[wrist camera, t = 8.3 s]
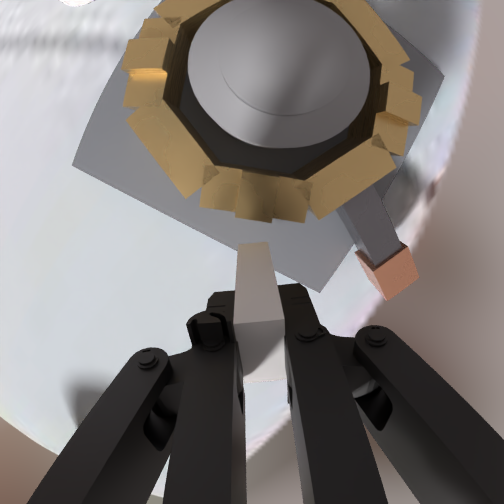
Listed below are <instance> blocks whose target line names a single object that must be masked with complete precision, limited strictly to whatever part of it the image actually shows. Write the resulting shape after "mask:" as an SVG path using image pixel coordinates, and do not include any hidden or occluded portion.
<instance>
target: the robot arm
mask: <svg viewBox="0 0 504 504" xmlns="http://www.w3.org/2000/svg"><path fill="white" fill-rule="evenodd" d="M186 326H187V329H188V333H189V336H190V339H191V343H192V348H191V349H190V350H188V351H186V352H183V353H180V354H176V355H172V356H168V355H167V353H166V352H165V351H164V350H162V349H159V348H151V347H150V348H146V349H142V350H140V351H138V352H136V353H135V354H134V355H133V356H132V357H131V358H130V359H129V360H128V362H127V363H126V364H125V366H124V367H123V368H122V370H121V371H120V372H119V373H118V375H117V376H116V377H115V379H114V380H113V381H112V383H111V384H110V385H109V387H108V388H107V389H106V391H105V392H104V393H103V395H102V396H101V397H100V399H99V400H98V401H97V403H96V404H95V406H94V407H93V408H92V410H91V411H90V412H89V414H88V415H87V416H86V418H85V419H84V421H83V422H82V423H81V425H80V426H79V428H78V429H77V430H76V432H75V433H74V435H73V436H72V437H71V439H70V440H69V442H68V443H67V444H66V446H65V447H64V449H63V450H62V452H61V453H60V454H59V456H58V457H57V459H56V460H55V462H54V463H53V465H52V466H51V468H50V469H49V471H48V472H47V474H46V475H45V477H44V478H43V480H42V481H41V483H40V484H39V486H38V487H37V489H36V490H35V492H34V493H33V495H32V496H31V498H30V499H29V501H28V503H27V504H146V503H147V500H148V498H149V496H150V495H151V492H152V490H153V488H154V486H155V484H156V482H157V480H158V478H159V476H160V474H161V472H162V470H163V468H164V466H165V464H166V462H167V459H168V457H169V455H170V459H169V465H168V471H167V478H166V484H165V491H164V497H163V504H247V493H246V438H245V393H244V388H243V380H244V383H255V382H266V381H276V380H285V379H287V388H288V403H289V404H290V411H291V417H292V424H293V431H294V438H295V445H296V452H297V459H298V465H299V474H300V481H301V489H302V495H303V503H304V504H388V501H387V498H386V495H385V491H384V488H383V484H382V481H381V478H380V475H379V471H378V468H377V465H376V461H375V458H374V455H373V452H372V449H371V446H370V443H369V440H368V437H367V434H366V431H365V428H364V425H365V426H366V428H367V429H368V431H369V432H370V433H371V435H372V436H373V438H374V439H375V441H376V442H377V444H378V445H379V446H380V448H381V449H382V451H383V452H384V453H385V455H386V456H387V458H388V459H389V461H390V462H391V463H392V465H393V466H394V468H395V469H396V470H397V472H398V473H399V475H400V476H401V477H402V479H403V480H404V482H405V483H406V484H407V486H408V487H409V489H410V490H411V491H412V493H413V494H414V496H415V497H416V498H417V500H418V501H419V503H420V504H504V440H503V439H502V437H501V436H500V435H499V434H498V433H497V432H496V431H495V430H494V429H493V428H492V427H491V426H490V425H489V424H488V423H487V422H486V421H485V420H484V419H483V418H482V417H481V416H480V415H479V414H478V413H477V412H476V411H475V410H474V409H473V408H472V407H471V406H470V405H469V404H468V402H466V401H465V400H464V399H463V398H462V397H461V396H460V395H459V394H458V393H457V392H456V391H455V390H454V389H453V388H452V387H451V386H450V385H449V384H448V383H447V382H446V381H445V380H444V379H443V378H442V377H441V376H440V375H439V374H438V373H437V372H436V371H434V369H433V368H431V367H430V366H429V365H428V364H427V363H426V362H425V361H424V360H423V359H422V358H421V357H420V356H419V355H418V354H417V353H415V352H414V351H413V350H412V349H411V348H410V347H409V346H408V345H407V344H406V343H405V342H404V341H402V340H401V339H400V338H399V337H398V336H397V335H396V334H395V333H394V332H393V331H391V330H390V329H388V328H386V327H383V326H377V325H371V326H366V327H363V328H362V329H360V330H359V331H358V332H357V334H356V335H355V338H353V337H340V336H335V335H332V334H330V333H329V331H328V330H327V329H326V327H324V326H322V325H321V324H320V322H319V320H318V317H317V315H316V312H315V309H314V307H313V304H312V302H311V299H310V297H309V294H308V291H307V289H306V288H305V287H304V286H302V285H301V284H300V283H295V284H286V285H277V281H276V277H275V272H274V268H273V263H272V258H271V254H270V249H269V245H268V242H259V243H249V244H239V245H238V255H237V270H236V286H235V290H234V291H223V292H214V293H213V295H212V296H211V297H210V298H209V299H208V303H207V308H206V311H202V312H200V313H197V314H195V315H194V316H192V317H191V318H190V319H189V320H188V322H187V323H186ZM363 423H364V425H363ZM170 453H171V454H170Z"/></svg>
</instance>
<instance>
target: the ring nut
mask: <svg viewBox="0 0 504 504" xmlns="http://www.w3.org/2000/svg"><path fill="white" fill-rule="evenodd" d="M231 1H233V0H165V1H164V2H162V3H161V4H159V5H158V6H156V7H155V8H153V9H154V10H155V12H156V13H157V14H158V16H159V17H160V18H150V19H144V23H143V26H142V29H141V32H140V35H139V38H138V39H131V40H129V41H128V44H127V48H126V52H125V55H124V59H123V63H122V67H121V70H123V71H124V72H126V73H128V74H129V77H128V81H127V86H126V91H125V96H124V101H123V107H126V108H129V109H132V110H136V111H135V112H134V113H133V114H131V115H130V116H129V117H128V118H127V119H126V122H127V123H128V124H129V126H130V127H131V128H132V130H133V131H134V132H135V134H136V135H137V136H138V138H139V139H140V140H141V142H142V143H143V144H144V146H145V147H146V148H147V149H148V151H149V152H150V153H151V155H152V156H153V157H154V159H155V160H156V161H157V163H158V164H159V165H160V167H161V168H162V169H163V170H164V172H165V173H166V174H167V176H168V177H169V178H170V180H171V181H172V182H173V183H174V185H175V186H176V187H177V189H178V190H179V191H180V193H181V194H182V195H183V196H184V198H185V199H187V198H188V197H189V196H190V195H192V194H193V193H194V192H196V191H197V190H198V189H199V188H201V187H202V189H201V197H200V205H199V207H203V208H210V209H217V210H224V211H230V212H235V218H242V219H248V220H254V221H261V222H267V223H272V219H273V218H275V219H281V220H287V221H293V222H298V223H305V219H306V214H307V210H309V211H310V212H311V213H312V214H313V215H314V216H315V217H316V218H317V219H318V220H320V219H322V218H323V217H325V216H326V215H328V214H329V213H331V212H332V211H334V210H336V211H337V213H338V215H339V217H340V218H341V220H342V222H343V224H344V225H345V227H346V229H347V231H348V232H349V234H350V236H351V238H352V240H353V241H354V243H355V245H356V247H357V249H358V250H357V251H356V252H355V254H356V256H357V258H358V260H359V262H360V264H361V266H362V267H363V269H364V271H365V273H366V275H367V277H368V279H369V280H370V282H371V283H372V284H373V285H374V286H375V287H376V289H377V290H378V291H379V292H380V293H381V295H382V296H383V297H384V298H385V299H386V301H388V300H389V299H391V298H392V297H393V296H395V295H396V294H398V293H399V292H401V291H402V290H403V289H405V288H406V287H407V286H409V285H410V284H411V283H413V282H414V281H415V280H416V279H418V278H419V275H418V273H417V270H416V267H415V264H414V262H413V259H412V256H411V253H410V251H409V248H408V246H406V245H405V244H404V243H402V242H401V241H399V239H398V236H397V234H396V232H395V230H394V227H393V225H392V223H391V221H390V218H389V216H388V214H387V212H386V210H385V208H384V206H383V204H382V201H381V199H380V197H379V195H378V193H377V191H376V189H375V188H374V186H373V183H375V182H376V181H378V180H379V179H381V178H382V177H384V176H385V175H386V174H388V173H389V172H391V171H392V170H394V169H395V168H397V167H396V165H395V163H394V161H393V159H392V157H391V155H394V156H403V155H404V150H405V144H406V138H407V132H408V126H419V121H420V113H421V104H422V97H421V96H419V95H418V94H416V93H414V92H412V91H413V79H414V72H413V71H411V70H409V69H407V68H405V67H402V66H400V65H401V64H403V63H405V62H407V61H409V60H410V59H409V57H408V56H407V54H406V53H405V51H404V50H403V48H402V47H401V45H400V44H399V42H398V41H397V40H396V38H395V37H394V35H393V34H392V33H391V31H390V30H389V29H388V27H387V26H386V25H385V24H384V22H383V21H382V20H381V18H380V17H379V16H378V15H377V14H376V12H375V11H374V10H373V9H372V8H371V7H370V5H369V4H368V3H367V2H366V1H365V0H314V1H316V2H318V3H320V4H323V5H324V6H326V7H328V8H329V9H331V10H332V11H334V12H335V13H336V14H338V15H339V16H340V17H341V18H342V19H343V20H344V21H346V22H347V23H348V25H349V26H350V27H351V28H352V29H353V31H354V32H355V33H356V35H357V36H358V38H359V39H360V41H361V43H362V45H363V47H364V50H365V52H366V55H367V58H368V62H369V69H370V85H369V91H368V95H367V98H366V101H365V103H364V105H363V107H362V109H361V111H360V112H359V114H358V115H357V117H356V118H355V119H354V120H353V121H352V122H351V124H350V125H349V130H348V136H347V139H345V140H343V141H342V142H340V143H339V144H337V145H336V146H334V147H332V148H331V149H329V150H328V151H326V152H325V153H323V154H322V155H320V156H318V157H317V158H315V159H314V160H312V161H311V162H309V163H308V164H306V165H305V166H303V167H302V168H300V169H299V170H297V171H296V172H294V173H293V174H288V173H283V172H278V171H272V170H267V169H261V168H255V167H249V166H243V165H236V164H229V163H222V162H220V161H219V159H218V158H217V157H216V155H215V154H214V153H213V151H212V150H211V149H210V147H209V146H208V145H207V144H206V142H205V141H204V140H203V138H202V137H201V136H200V134H199V133H198V132H197V131H196V129H195V128H194V127H193V125H192V124H191V123H190V122H189V120H188V119H187V118H186V116H185V115H184V114H183V113H182V111H181V110H180V109H179V107H180V102H181V97H182V91H183V87H184V82H185V77H186V72H187V68H188V57H189V51H190V47H191V43H192V41H193V39H194V36H195V34H196V32H197V31H198V29H199V28H200V26H201V25H202V24H203V22H204V21H205V20H206V19H207V18H208V17H209V16H210V15H211V14H212V13H213V12H215V11H216V10H217V9H219V8H220V7H222V6H223V5H225V4H227V3H229V2H231Z"/></svg>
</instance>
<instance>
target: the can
mask: <svg viewBox="0 0 504 504" xmlns="http://www.w3.org/2000/svg"><path fill="white" fill-rule="evenodd" d="M60 1H61V2H63V3H65V4H66V5H68V6H72V7H76V6H81V5H85V4H88V3H91V2H93V1H95V0H60Z"/></svg>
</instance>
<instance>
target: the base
mask: <svg viewBox="0 0 504 504" xmlns="http://www.w3.org/2000/svg"><path fill="white" fill-rule="evenodd" d="M164 1H165V0H162V1H161V2H160V3H159V4H161V3H162V2H164ZM150 18H160V17H159V16H158V14H157V13H156V12H155V10H154V11H153V12H152V13H151V15H150V16H149V17H148V19H150ZM384 24H385V23H384ZM385 25H386V26H387V27H388V29H389V30H390V31H391V33H392V34H393V35H394V37H395V38H396V40H397V41H398V42H399V44H400V45H401V47H402V48H403V50H404V51H405V53H406V54H407V56H408V57H409V59H410V60H409V61H407V62H405V63H403V64H401V65H400V66H402V67H405V68H407V69H409V70H411V71H413V72H414V79H413V91H412V92H414V93H416V94H418V95H419V96H421V97H422V104H421V113H420V121H419V126H408V132H407V138H406V144H405V150H404V155H403V156H394V155H391V157H392V159H393V161H394V163H395V165H396V167H397V168H395V169H394V170H392V171H391V172H389V173H388V174H386V175H385V176H384V177H382V178H381V179H379V180H378V181H376V182H375V183H373V186H374V188H375V189H376V191H377V193H378V195H379V197H380V199H381V200H382V198H383V196H384V195H385V193H386V191H387V190H388V188H389V186H390V184H391V183H392V181H393V179H394V177H395V176H396V174H397V172H398V170H399V169H400V167H401V165H402V163H403V161H404V159H405V158H406V156H407V154H408V152H409V150H410V148H411V146H412V144H413V142H414V141H415V139H416V137H417V135H418V133H419V131H420V129H421V127H422V125H423V123H424V121H425V119H426V117H427V114H428V112H429V110H430V108H431V106H432V104H433V102H434V99H435V97H436V95H437V93H438V91H439V88H440V86H441V84H442V81H443V79H444V77H445V76H444V75H443V74H442V73H441V72H440V71H439V70H438V69H437V68H436V67H435V66H434V65H433V64H432V63H431V62H430V61H429V60H428V59H427V58H426V57H425V56H424V55H423V54H422V53H421V52H420V51H418V50H417V49H416V48H415V47H414V46H413V45H412V44H410V43H409V42H408V41H407V40H406V39H405V38H403V37H402V36H401V35H400V34H398V33H397V32H396V31H395V30H393V29H392V28H391V27H389V26H388V25H387V24H385ZM141 29H142V27H141V28H140V30H139V31H138V33H137V34H136V36H135V37H134V39H138V38H139V35H140V32H141ZM125 52H126V51H125ZM124 55H125V53H124V54H123V56H122V58H121V59H120V61H119V63H118V64H117V66H116V68H115V70H114V71H113V73H112V75H111V77H110V79H109V80H108V82H107V84H106V86H105V88H104V90H103V92H102V94H101V96H100V98H99V100H98V102H97V104H96V106H95V109H94V111H93V113H92V115H91V117H90V120H89V122H88V124H87V127H86V129H85V132H84V134H83V136H82V139H81V142H80V144H79V147H78V150H77V152H76V155H75V158H74V161H73V164H72V166H74V167H76V168H78V169H80V170H81V171H83V172H85V173H87V174H89V175H91V176H93V177H95V178H97V179H99V180H100V181H102V182H104V183H106V184H108V185H110V186H112V187H114V188H116V189H118V190H120V191H122V192H123V193H125V194H127V195H129V196H131V197H133V198H135V199H137V200H139V201H141V202H143V203H145V204H147V205H148V206H150V207H152V208H154V209H156V210H158V211H160V212H162V213H164V214H166V215H168V216H170V217H172V218H174V219H176V220H177V221H179V222H181V223H183V224H185V225H187V226H189V227H191V228H193V229H195V230H197V231H199V232H201V233H203V234H205V235H207V236H209V237H211V238H212V239H214V240H216V241H218V242H220V243H222V244H224V245H226V246H228V247H230V248H232V249H234V250H236V251H238V245H239V244H249V243H259V242H268V245H269V249H270V254H271V258H272V263H273V268H274V270H275V271H277V272H279V273H281V274H283V275H285V276H287V277H289V278H291V279H293V280H295V281H297V282H299V283H301V284H303V285H305V286H307V287H309V288H311V289H313V290H315V291H317V292H319V293H320V292H321V291H322V289H323V288H324V286H325V285H326V284H327V282H328V281H329V279H330V278H331V277H332V275H333V274H334V272H335V271H336V269H337V268H338V267H339V265H340V264H341V262H342V261H343V259H344V258H345V256H346V255H347V253H348V252H349V250H350V249H351V247H352V246H353V244H354V241H353V240H352V238H351V236H350V234H349V232H348V231H347V229H346V227H345V225H344V224H343V222H342V220H341V218H340V217H339V215H338V213H337V211H336V210H334V211H332V212H331V213H329V214H328V215H326V216H325V217H323V218H322V219H320V220H318V219H317V218H316V217H315V216H314V215H313V214H312V213H311V212H310V211H309V210H307V214H306V219H305V223H298V222H293V221H287V220H281V219H275V218H273V219H272V223H267V222H261V221H254V220H248V219H242V218H235V212H230V211H224V210H217V209H210V208H203V207H199V205H200V197H201V189H202V187H201V188H199V189H198V190H197V191H196V192H194V193H193V194H192V195H190V196H189V197H188V198H187V199H185V198H184V196H183V195H182V194H181V193H180V191H179V190H178V189H177V187H176V186H175V185H174V183H173V182H172V181H171V180H170V178H169V177H168V176H167V174H166V173H165V172H164V170H163V169H162V168H161V167H160V165H159V164H158V163H157V161H156V160H155V159H154V157H153V156H152V155H151V153H150V152H149V151H148V149H147V148H146V147H145V146H144V144H143V143H142V142H141V140H140V139H139V138H138V136H137V135H136V134H135V132H134V131H133V130H132V128H131V127H130V126H129V124H128V123H127V122H126V119H127V118H128V117H129V116H130V115H131V114H133V113H134V112H135V111H136V110H132V109H129V108H126V107H123V101H124V96H125V91H126V86H127V81H128V77H129V74H128V73H126V72H124V71H123V70H121V67H122V63H123V59H124ZM369 85H370V69H369V62H368V58H367V55H366V52H365V50H364V47H363V45H362V43H361V41H360V39H359V38H358V36H357V35H356V33H355V32H354V31H353V29H352V28H351V27H350V26H349V25H348V23H347V22H346V21H344V20H343V19H342V18H341V17H340V16H339V15H338V14H336V13H335V12H334V11H332V10H331V9H329V8H328V7H326V6H324V5H323V4H320V3H318V2H316V1H314V0H233V1H231V2H229V3H227V4H225V5H223V6H222V7H220V8H219V9H217V10H216V11H215V12H213V13H212V14H211V15H210V16H209V17H208V18H207V19H206V20H205V21H204V22H203V24H202V25H201V26H200V28H199V29H198V31H197V32H196V34H195V36H194V39H193V41H192V43H191V47H190V51H189V57H188V68H187V72H186V77H185V82H184V87H183V91H182V97H181V102H180V107H179V109H180V110H181V111H182V113H183V114H184V115H185V116H186V118H187V119H188V120H189V122H190V123H191V124H192V125H193V127H194V128H195V129H196V131H197V132H198V133H199V134H200V136H201V137H202V138H203V140H204V141H205V142H206V144H207V145H208V146H209V147H210V149H211V150H212V151H213V153H214V154H215V155H216V157H217V158H218V159H219V161H220V162H222V163H229V164H236V165H243V166H249V167H255V168H261V169H267V170H272V171H278V172H283V173H288V174H293V173H294V172H296V171H297V170H299V169H300V168H302V167H303V166H305V165H306V164H308V163H309V162H311V161H312V160H314V159H315V158H317V157H318V156H320V155H322V154H323V153H325V152H326V151H328V150H329V149H331V148H332V147H334V146H336V145H337V144H339V143H340V142H342V141H343V140H345V139H347V136H348V130H349V125H350V124H351V122H352V121H353V120H354V119H355V118H356V117H357V115H358V114H359V112H360V111H361V109H362V107H363V105H364V103H365V101H366V98H367V95H368V91H369Z"/></svg>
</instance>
